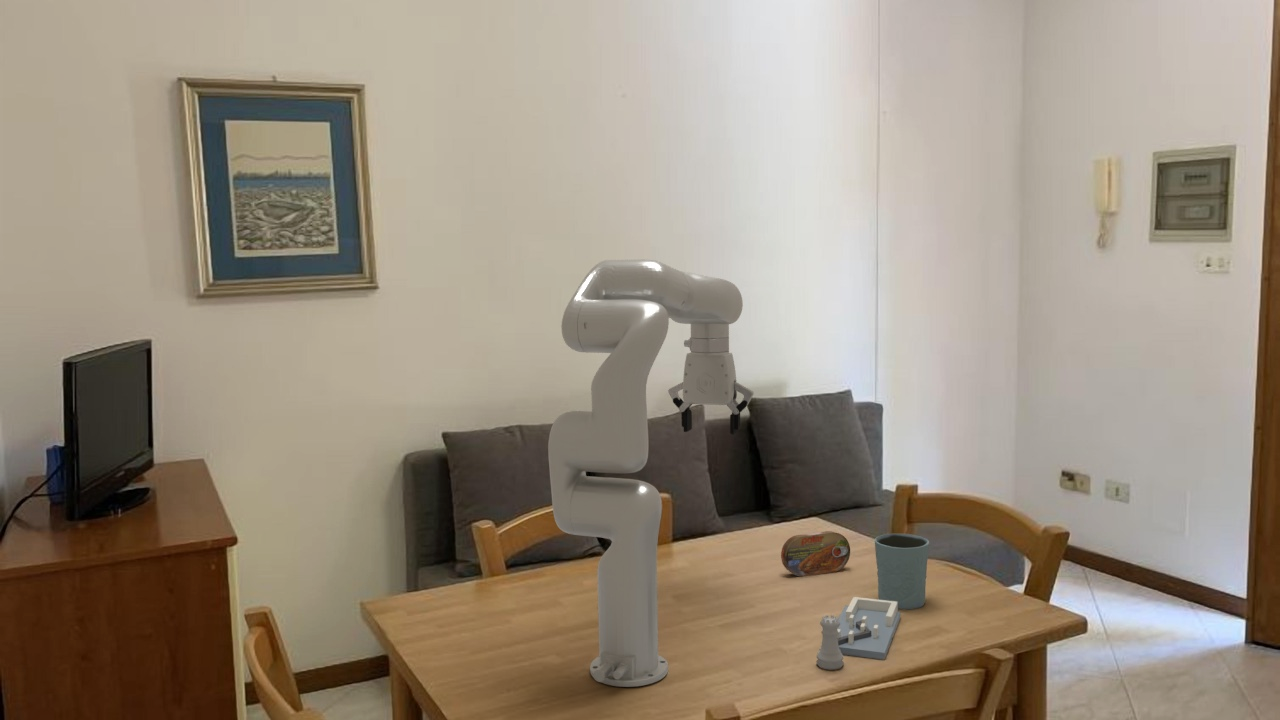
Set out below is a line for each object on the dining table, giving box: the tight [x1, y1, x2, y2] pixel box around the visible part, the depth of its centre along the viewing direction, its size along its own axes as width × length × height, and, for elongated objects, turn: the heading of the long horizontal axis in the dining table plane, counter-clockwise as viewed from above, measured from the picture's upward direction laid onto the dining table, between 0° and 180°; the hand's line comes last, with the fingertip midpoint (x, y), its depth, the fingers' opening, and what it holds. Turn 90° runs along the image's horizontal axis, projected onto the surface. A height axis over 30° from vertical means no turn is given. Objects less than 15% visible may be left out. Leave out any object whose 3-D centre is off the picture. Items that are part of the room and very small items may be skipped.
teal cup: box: [874, 533, 930, 610], centre depth 196 cm, size 10×10×12 cm
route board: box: [837, 596, 901, 661], centre depth 180 cm, size 20×10×3 cm, turn 159°
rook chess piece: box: [816, 614, 845, 671], centre depth 167 cm, size 4×4×8 cm
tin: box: [780, 530, 851, 578], centre depth 214 cm, size 15×3×8 cm, turn 108°
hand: (710, 432), depth 204 cm, fingers open, 9 cm apart
